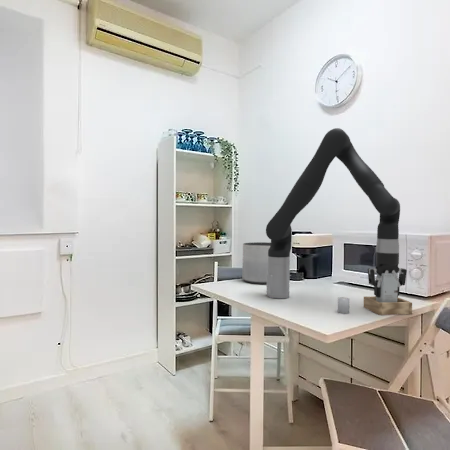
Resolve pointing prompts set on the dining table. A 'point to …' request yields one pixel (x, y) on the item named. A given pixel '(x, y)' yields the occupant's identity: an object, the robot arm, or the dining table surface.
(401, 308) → the oak collar
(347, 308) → the grey stub
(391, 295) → the skincare box
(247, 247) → the planter
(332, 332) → the dining table surface
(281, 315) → the dining table surface
